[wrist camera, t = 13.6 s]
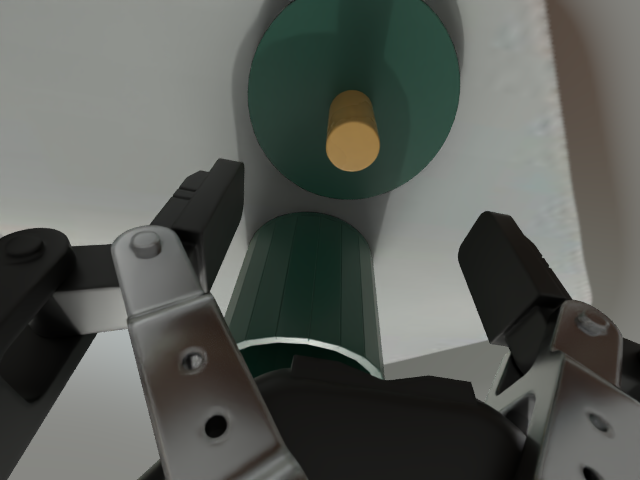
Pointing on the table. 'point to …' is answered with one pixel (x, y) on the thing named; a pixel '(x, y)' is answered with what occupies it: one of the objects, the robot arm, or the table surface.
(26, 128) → the table surface
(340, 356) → the tin
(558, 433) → the robot arm
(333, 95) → the lid
